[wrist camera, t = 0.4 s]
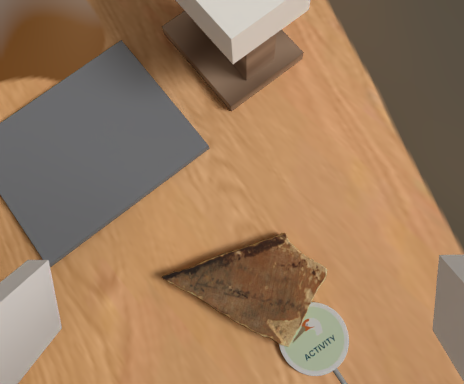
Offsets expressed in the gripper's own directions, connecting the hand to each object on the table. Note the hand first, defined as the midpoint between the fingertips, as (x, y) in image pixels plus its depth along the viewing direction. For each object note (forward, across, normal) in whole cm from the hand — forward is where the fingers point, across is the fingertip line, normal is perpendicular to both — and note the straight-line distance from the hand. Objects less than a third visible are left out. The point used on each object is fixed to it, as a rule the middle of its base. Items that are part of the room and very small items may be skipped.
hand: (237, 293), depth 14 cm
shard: (+17, +1, +10) cm, 20 cm away
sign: (+14, -6, +16) cm, 22 cm away
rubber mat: (+22, +14, -1) cm, 26 cm away
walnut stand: (+28, +2, -9) cm, 29 cm away
